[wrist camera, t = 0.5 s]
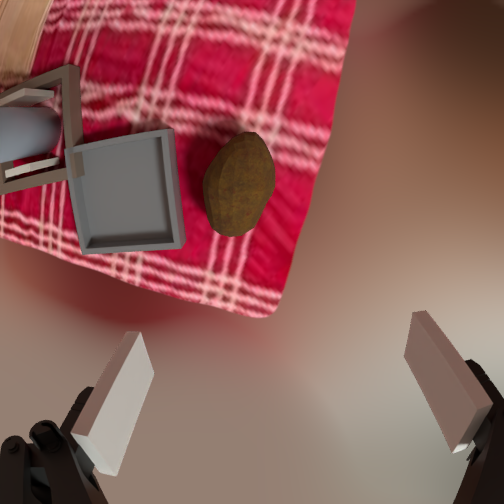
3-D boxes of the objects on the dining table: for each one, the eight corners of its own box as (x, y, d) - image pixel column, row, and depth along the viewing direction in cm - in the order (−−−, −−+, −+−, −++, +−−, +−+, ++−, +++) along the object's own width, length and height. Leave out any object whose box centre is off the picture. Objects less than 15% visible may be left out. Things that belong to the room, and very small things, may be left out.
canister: (24, 113, 35) (-46, 117, 22) (60, 100, 35) (-11, 97, 21) (28, 159, 38) (-41, 177, 24) (64, 150, 38) (-7, 164, 24)
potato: (203, 224, 41) (191, 244, 34) (213, 127, 37) (202, 126, 30) (265, 232, 41) (267, 254, 34) (280, 135, 37) (284, 136, 30)
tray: (75, 147, 38) (64, 149, 35) (173, 129, 37) (167, 128, 34) (91, 247, 43) (82, 254, 40) (186, 240, 42) (181, 248, 39)
